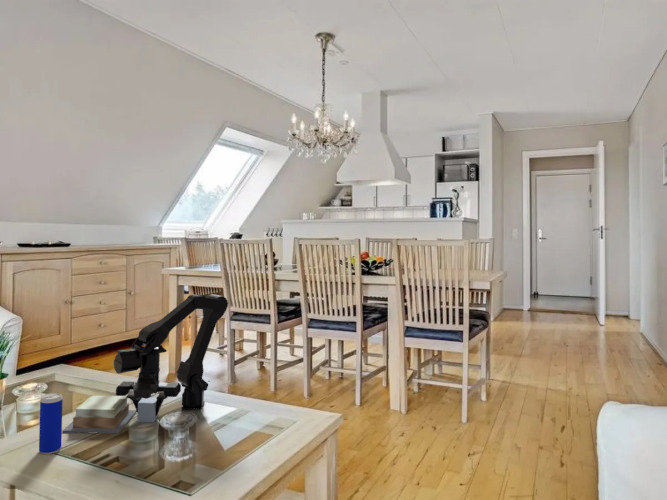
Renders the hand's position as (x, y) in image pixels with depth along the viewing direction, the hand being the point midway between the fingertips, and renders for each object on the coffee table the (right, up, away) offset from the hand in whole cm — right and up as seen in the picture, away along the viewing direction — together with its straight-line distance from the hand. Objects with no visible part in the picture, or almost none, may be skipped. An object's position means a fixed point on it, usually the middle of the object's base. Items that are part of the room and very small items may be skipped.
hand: (148, 415), depth 150 cm
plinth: (-13, -1, -4) cm, 13 cm away
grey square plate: (-13, -1, -4) cm, 13 cm away
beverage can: (-17, -1, -23) cm, 29 cm away
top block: (0, -1, 0) cm, 1 cm away
